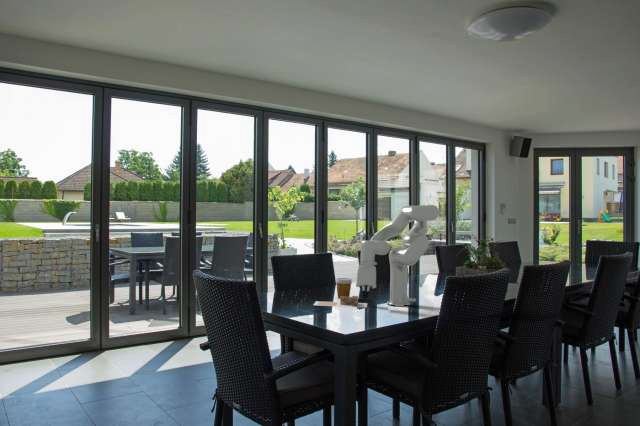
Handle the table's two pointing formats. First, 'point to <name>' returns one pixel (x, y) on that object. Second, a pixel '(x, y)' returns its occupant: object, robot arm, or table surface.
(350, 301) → the walnut T-block
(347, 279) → the disposable coffee cup
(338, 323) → the table surface
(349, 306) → the push board
